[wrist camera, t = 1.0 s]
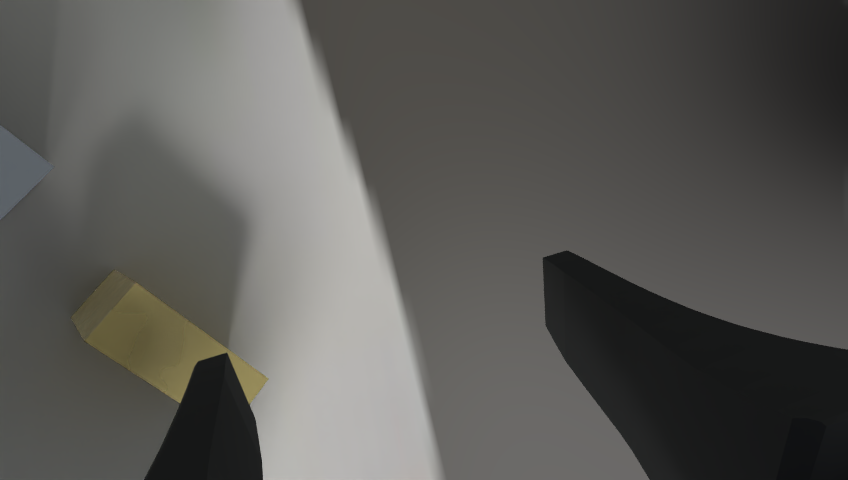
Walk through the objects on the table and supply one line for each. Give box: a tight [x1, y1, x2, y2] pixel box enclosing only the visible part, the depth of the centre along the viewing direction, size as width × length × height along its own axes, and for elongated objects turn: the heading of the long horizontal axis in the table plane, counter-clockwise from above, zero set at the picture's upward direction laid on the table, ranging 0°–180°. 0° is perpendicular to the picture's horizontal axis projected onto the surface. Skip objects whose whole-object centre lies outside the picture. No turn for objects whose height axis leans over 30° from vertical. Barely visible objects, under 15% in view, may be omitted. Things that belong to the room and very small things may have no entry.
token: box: [71, 270, 268, 404], centre depth 20 cm, size 2×5×4 cm, turn 49°
